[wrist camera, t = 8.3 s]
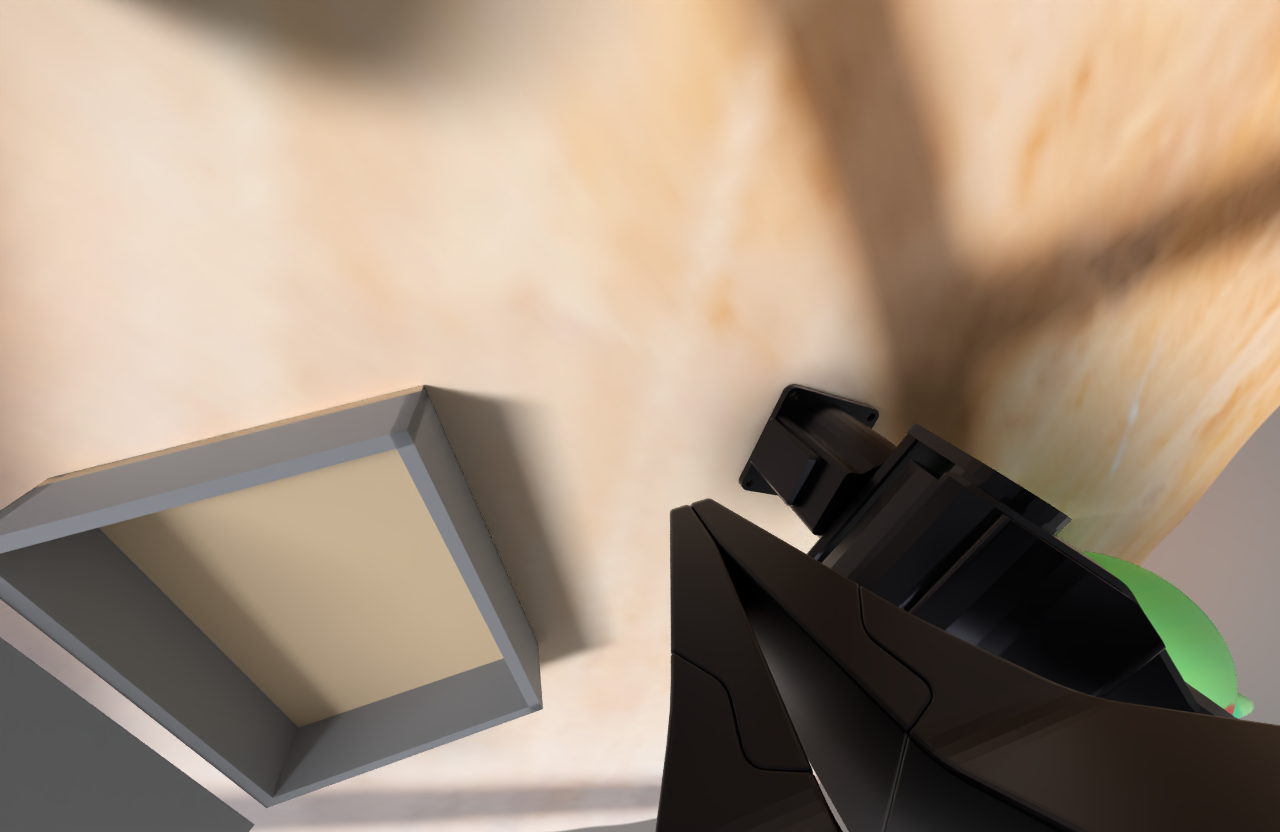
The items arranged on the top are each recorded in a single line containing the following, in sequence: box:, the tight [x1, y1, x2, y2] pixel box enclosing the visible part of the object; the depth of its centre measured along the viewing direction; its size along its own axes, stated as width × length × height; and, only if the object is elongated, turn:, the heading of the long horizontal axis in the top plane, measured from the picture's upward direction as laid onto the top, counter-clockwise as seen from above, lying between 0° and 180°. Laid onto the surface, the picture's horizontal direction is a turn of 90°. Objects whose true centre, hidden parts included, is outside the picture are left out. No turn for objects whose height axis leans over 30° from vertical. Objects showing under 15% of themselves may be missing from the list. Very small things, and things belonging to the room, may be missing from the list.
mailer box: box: [0, 385, 543, 808], centre depth 21 cm, size 14×18×4 cm
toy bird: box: [1081, 551, 1254, 718], centre depth 33 cm, size 18×17×15 cm
